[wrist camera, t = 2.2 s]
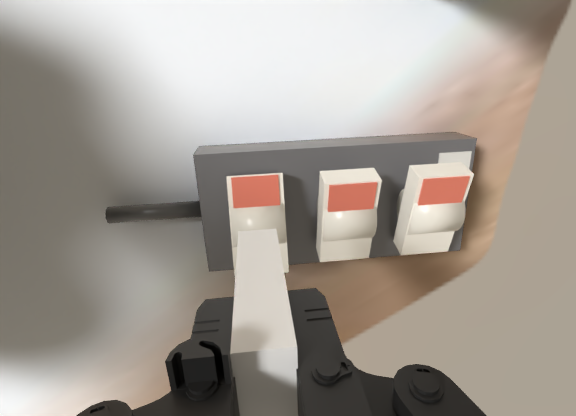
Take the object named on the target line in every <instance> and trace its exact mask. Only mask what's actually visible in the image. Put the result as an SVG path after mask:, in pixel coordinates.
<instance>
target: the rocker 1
mask: <svg viewBox="0 0 576 416" xmlns="http://www.w3.org/2000/svg"><path fill="white" fill-rule="evenodd" d="M226 179H227V191H228V204H229V216H230V229H231V241H232V253H233V266H234V277H235V275H236V260H237V245H238V231H251V230H263V229H276V230H277V235H278V241H279V246H280V252H281V258H282V263H283V269H284V273H288V272H289V265H288V250H287V234H286V219H285V203H284V187H283V173H269V174H254V175H238V176H226Z"/></svg>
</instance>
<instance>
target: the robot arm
mask: <svg viewBox="0 0 576 416" xmlns="http://www.w3.org/2000/svg"><path fill="white" fill-rule="evenodd" d="M165 363H166V367H167V372H168V377H169V382H170V386H171V391H170V392H169V393H168V394H167V395H165V396H164V397H162V398H161V399H159V400H156V401H154V402H152V403H150V404H147V405H145V406H142V407H139V408H137V409H134V410H131V409H130V407H129V406H128V405H127V404H126V403H124V402H121V401H118V400H111V401H103V402H100V403H98V404H95V405H92V406H90V407H89V408H87V409H85V410H84V411H82V412H81V413H79V414H78V415H77V416H486V415H485V414H484V413H483V412H482V411H481V410H480V409H479V407H477V406H476V405H475V403H473V401H472V400H471V399H470V398H469V397H468V396H467V395H466V394H465V393H464V392H463V391H462V390H461V389H460V388H459V387H458V386H457V385H456V384H455V383H454V382H453V381H452V380H451V379H450V378H449V377H447V376H446V375H445V374H443V373H442V372H441V371H439V370H437V369H434V368H432V367H430V366H426V365H419V364H415V365H407V366H405V367H403V368H401V369H400V370H398V371H397V373H396V375H395V377H394V378H388V377H382V376H376V375H372V374H368V373H365V372H363V371H361V370H358V369H357V368H356V367H355V366H354V365H353V363H352V362H351V361H350V360H349V359H347V358H346V356H345V354H344V351H343V348H342V345H341V342H340V339H339V337H338V334H337V331H336V328H335V325H334V322H333V319H332V316H331V313H330V310H329V307H328V304H327V301H326V298H325V296H324V295H322V294H321V293H320V292H319V291H318V290H317V289H316V288H311V289H301V290H290V291H287V286H286V280H285V275H284V269H283V263H282V258H281V252H280V246H279V241H278V235H277V230H276V229H263V230H251V231H238V245H237V260H236V275H235V290H234V297H227V298H216V299H206V300H205V301H204V302H203V304H202V305H201V306H200V307H199V308H198V310H197V312H196V317H195V322H194V326H193V331H192V335H191V339H189V340H187V341H185V342H183V343H181V344H179V345H178V346H177V347H176V348H175V349H173V350H172V351H171V352H170V354H169V355H168V357H167V359H166V361H165Z"/></svg>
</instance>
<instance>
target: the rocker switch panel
mask: <svg viewBox="0 0 576 416" xmlns="http://www.w3.org/2000/svg"><path fill="white" fill-rule="evenodd" d="M476 141H477V138H474V137H470V136H467V135H463V134H460V133H456V132H445V133H427V134H409V135H392V136H374V137H356V138H338V139H321V140H303V141H285V142H267V143H250V144H232V145H214V146H199V147H198V149H197V150H196V152H195V153H194V155H193V156H194V164H195V171H196V179H197V186H198V193H199V201H191V202H177V203H162V204H147V205H133V206H118V207H108V208H107V209H106V219H107V222H108V223H120V222H134V221H148V220H161V219H175V218H189V217H202V223H203V231H204V238H205V246H206V253H207V260H208V268H209V271H221V270H233V269H234V266H233V253H232V241H231V229H230V216H229V204H228V191H227V179H226V176H238V175H254V174H269V173H283V187H284V203H285V219H286V234H287V250H288V265H292V264H304V263H316V262H320V261H319V257H318V253H317V249H316V239H317V199H318V196H319V176H320V171H329V170H345V169H360V168H375V170H376V172H377V173H378V175H379V176H380V178H381V180H382V182H381V188H380V194H379V200H378V206H377V229H376V233H375V235H374V237H372V242H371V248H370V254H369V258H375V257H387V256H399V255H400V253H399V251H398V249H397V247H396V245H395V243H394V242H393V240H394V235H395V230H396V226H397V221H398V217H397V200H398V196H399V193H400V191H401V190H403V189H405V184H406V179H407V175H408V170H409V165H423V164H439V163H455V162H462V163H463V164H464V165H465V166H466V167H467V168H468V169H469V170H470V171H471V172H472V167H473V161H474V154H475V147H476ZM468 194H469V191H468ZM468 194H467V197H466V200H465V214H466V207H467V200H468ZM463 227H464V223H463V225H462V227H461V228H460V229H459V230H457V231H455V232H454V235H453V238H452V241H451V244H450V247H449V250H448V251H458V250H460V247H461V240H462V234H463Z"/></svg>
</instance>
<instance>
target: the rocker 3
mask: <svg viewBox="0 0 576 416" xmlns="http://www.w3.org/2000/svg"><path fill="white" fill-rule="evenodd" d="M473 176H474V173H472V172H471V171H470V170H469V169H468V168H467V167H466V166H465V165H464V164H463V163H462V162H455V163H439V164H423V165H409V170H408V175H407V179H406V184H405V189H403V190H401V191H400V193H399V196H398V200H397V217H398V221H397V226H396V230H395V235H394V240H393V242H394V243H395V245H396V247H397V249H398V251H399V253H400V255H411V254H423V253H435V252H446V251H448V250H449V247H450V244H451V241H452V238H453V235H454V232H455V231H457V230H459V229H460V228H461V227H462V225H463V223H464V220H465V200H466V197H467V194H468V191H469V188H470V185H471V182H472V179H473Z"/></svg>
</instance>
